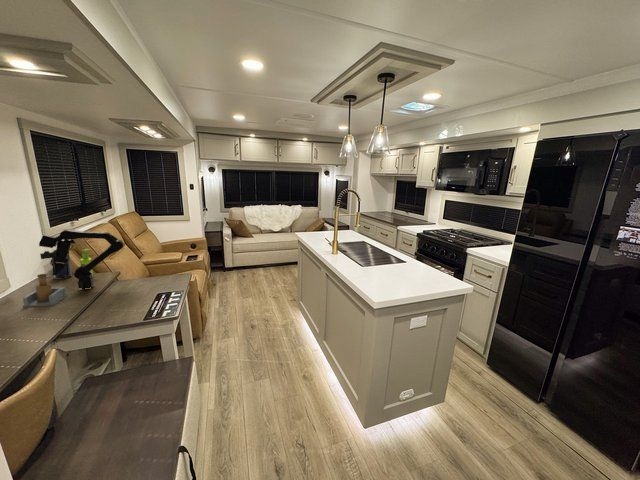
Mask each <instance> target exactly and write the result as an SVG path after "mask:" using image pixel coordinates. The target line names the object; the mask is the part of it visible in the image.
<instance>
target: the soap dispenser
mask: <svg viewBox="0 0 640 480" xmlns="http://www.w3.org/2000/svg"><path fill="white" fill-rule="evenodd" d="M91 250H92V248H84V249H82V250H81V252H82V254H81V258H80V259H79V261H80V263H79V264H80V266H81V265H82V264H84V265H86V264H88V263H89V262H91V261H92V258H91V257H90V255H89V253H88V251H91ZM93 272H94V271H93V269H92V270H91V271H90V273H92V275H93V276H94V274H93Z"/></svg>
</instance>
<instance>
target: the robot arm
mask: <svg viewBox="0 0 640 480" xmlns="http://www.w3.org/2000/svg"><path fill="white" fill-rule="evenodd" d="M58 235H59V236H57V237H55V236H51V235H46V234H44V235H42V236H41V239H40V241H39V242H38V246H39V247H42V248H43V247H44V248H50V249H53V248H54V247H55V248H56V249H54V250H55V251H54V250H53V251H54V252H53V251H52V252H53V253H52V252H50V251H48V250H46V251H44V252H43V253H40V254H39V255H40V256H39V257H40V260H45V259H50V261H49V263H50V265H51V266H52V276H54V275H57V274H58V273H59V272H60V271H61V270H62V269H63V267H64V266H65V265H66V264H65V263H68V259H67V256H68V254H69V255H70V249H71V247H72V245H76V244H77V243H76V241H75V240H78V239H99V240H100V239H103V240H105V241H107V243H108V244H110V245H109V246H108V247H107V248H106V249H105V250H103V251H102V252H101V253H100V254H98V255H97V256H96V257H95V258H93V259H91V262H89V263H88V264H86V265H84V264H82V265H81V264H80V266H78V267H76V269H75V271H74V273H73V276H74V278H75V279H77V280H78V282H77V285H78V287H77V288H78V289H79V288H82V289H85V288H90V287H92V286H93V285H94V278H93V276H92V273H90V271H91V270H92V271H93V268H95V267H96V266H97V265H99V264H100V263H101V262H103V261H104V260H105V259H107V258H108V257H109V256H110V255H112V254H114V253H117V252H118V251H120V250H121V249H123V248H124V241H123V240H122V239H118V238H117V237H115V235H112V233H110V232H108V231H102V232H101V231H82V230H81V231H80V230H76V229H71V228H65V229H64V230H61V232H60V233H59V234H58ZM61 240H62V241H61ZM57 242H59V243H58V246H57ZM91 276H92V277H91Z"/></svg>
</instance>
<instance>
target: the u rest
mask: <svg viewBox="0 0 640 480" xmlns="http://www.w3.org/2000/svg"><path fill="white" fill-rule="evenodd" d="M51 289H52V294H51V295H50V296H49V301H47V302H37V295H36V288H35V289H34V290H33V291H31V292H30V293H28V294H27V295H25V296H23V297H22V299H23V300H22V302H23V305H22V307H23V308H33V307H34V308H35V307H45V306H46V307H47V306H55V305H57V304H58V303H59V302H61V301H62V300H63V299H64V298H66V297H67V289H66V287H51ZM65 296H66V297H65ZM60 300H61V301H60Z"/></svg>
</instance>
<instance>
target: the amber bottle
mask: <svg viewBox="0 0 640 480" xmlns="http://www.w3.org/2000/svg"><path fill="white" fill-rule="evenodd" d="M47 275H48V274H47V273H41V274H37V275H36V277H37V278H38V284H36V285H35V289H36V295H37V302H47V301H49V296H50V295H51V294H52V289H51V288H52V283H50V282H47V281H48V280H47Z"/></svg>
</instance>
